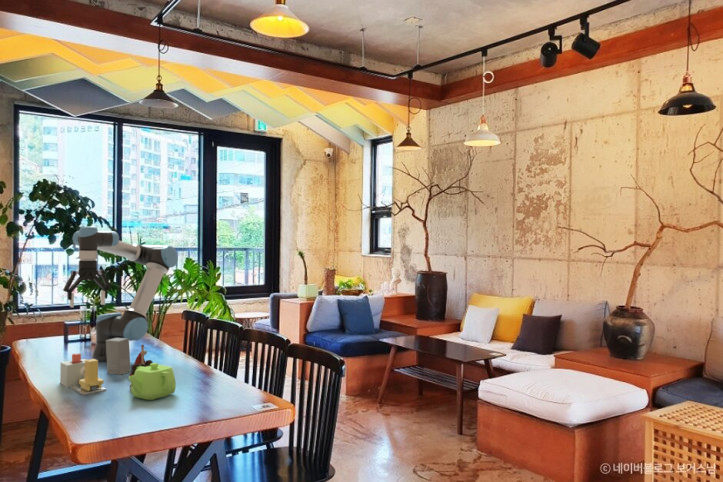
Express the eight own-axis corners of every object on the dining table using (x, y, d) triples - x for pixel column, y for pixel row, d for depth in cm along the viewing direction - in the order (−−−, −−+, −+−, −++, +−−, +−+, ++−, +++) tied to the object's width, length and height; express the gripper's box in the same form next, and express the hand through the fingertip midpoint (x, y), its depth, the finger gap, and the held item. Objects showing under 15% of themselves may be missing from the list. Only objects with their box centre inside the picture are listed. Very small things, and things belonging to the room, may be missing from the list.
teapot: (145, 407, 203) (145, 372, 203) (112, 398, 214) (112, 365, 214) (185, 396, 219) (185, 363, 219) (152, 388, 230) (153, 357, 230)
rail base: (91, 383, 235) (91, 377, 235) (105, 390, 224) (106, 384, 224) (68, 387, 228) (69, 381, 228) (82, 394, 218) (82, 388, 218)
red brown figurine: (141, 392, 223) (142, 348, 223) (123, 389, 226) (124, 346, 226) (159, 385, 233) (160, 343, 233) (142, 383, 236) (142, 341, 236)
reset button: (79, 364, 237) (79, 353, 237) (82, 366, 235) (82, 354, 235) (70, 365, 235) (70, 354, 235) (73, 367, 232) (73, 355, 232)
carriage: (96, 384, 228) (97, 357, 228) (103, 387, 224) (103, 360, 224) (78, 387, 223) (79, 360, 223) (85, 391, 219) (85, 363, 219)
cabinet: (85, 379, 241) (85, 358, 241) (92, 382, 236) (92, 362, 235) (60, 383, 234) (60, 362, 234) (67, 387, 228) (67, 365, 228)
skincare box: (130, 372, 255) (131, 338, 255) (118, 375, 248) (118, 340, 248) (117, 370, 258) (118, 336, 258) (104, 373, 252) (105, 339, 252)
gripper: (112, 258, 265) (111, 302, 265) (55, 260, 247) (55, 307, 247) (118, 259, 260) (118, 304, 260) (61, 260, 242) (61, 309, 242)
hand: (87, 305), depth 254 cm, fingers open, 13 cm apart
